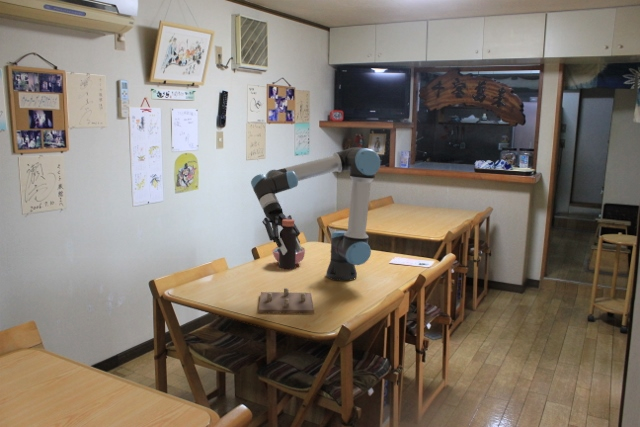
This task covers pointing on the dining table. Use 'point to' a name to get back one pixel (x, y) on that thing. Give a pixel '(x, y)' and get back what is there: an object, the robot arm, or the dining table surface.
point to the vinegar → (288, 245)
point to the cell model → (298, 257)
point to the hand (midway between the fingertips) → (292, 251)
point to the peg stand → (285, 302)
